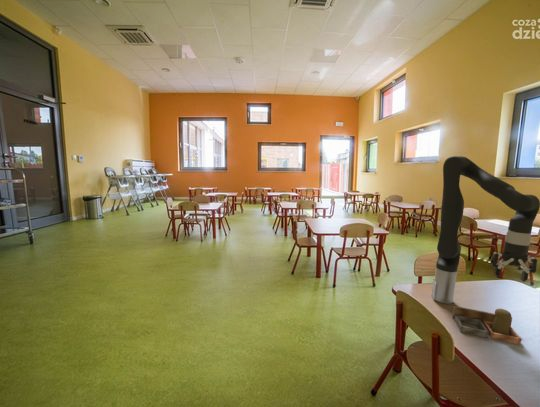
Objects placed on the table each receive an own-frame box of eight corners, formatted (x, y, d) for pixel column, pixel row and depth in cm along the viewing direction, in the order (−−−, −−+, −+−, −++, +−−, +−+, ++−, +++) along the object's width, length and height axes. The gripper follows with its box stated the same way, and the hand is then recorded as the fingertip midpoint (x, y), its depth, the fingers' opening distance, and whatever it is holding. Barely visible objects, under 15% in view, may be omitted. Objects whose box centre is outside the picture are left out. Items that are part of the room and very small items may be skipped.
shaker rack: (459, 331, 112) (460, 318, 112) (452, 317, 123) (454, 306, 122) (521, 345, 105) (524, 331, 104) (508, 329, 115) (511, 316, 114)
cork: (486, 330, 114) (490, 306, 112) (499, 329, 114) (503, 306, 113) (499, 339, 108) (503, 314, 106) (513, 338, 108) (517, 314, 107)
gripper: (499, 241, 109) (492, 278, 111) (544, 247, 103) (536, 285, 106) (492, 237, 115) (486, 271, 118) (534, 242, 110) (527, 278, 112)
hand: (510, 278), depth 112 cm, fingers open, 8 cm apart
